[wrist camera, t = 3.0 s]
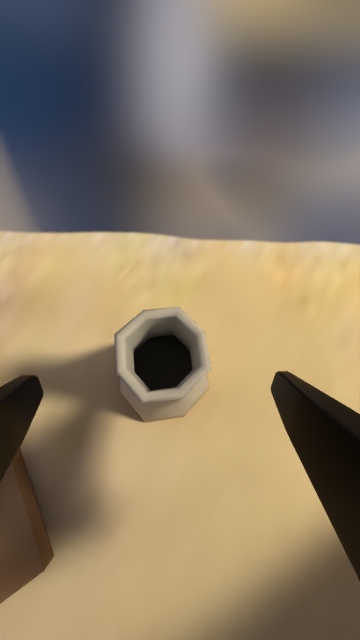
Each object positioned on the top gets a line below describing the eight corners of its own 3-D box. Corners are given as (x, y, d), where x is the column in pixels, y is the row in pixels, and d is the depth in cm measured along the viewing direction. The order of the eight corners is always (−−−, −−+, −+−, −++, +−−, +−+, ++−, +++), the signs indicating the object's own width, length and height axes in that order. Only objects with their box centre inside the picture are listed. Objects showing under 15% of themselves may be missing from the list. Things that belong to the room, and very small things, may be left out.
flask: (138, 440, 14) (87, 551, 5) (105, 350, 16) (19, 300, 7) (223, 393, 16) (314, 405, 6) (183, 316, 17) (206, 234, 8)
